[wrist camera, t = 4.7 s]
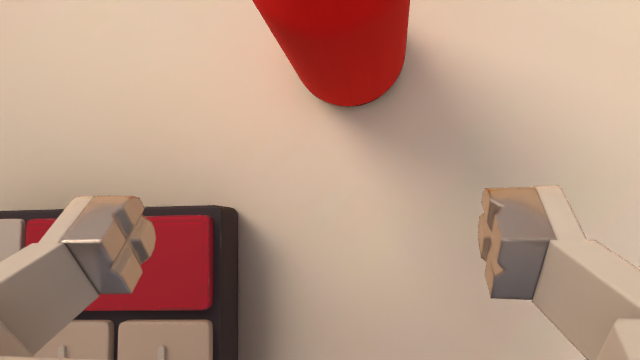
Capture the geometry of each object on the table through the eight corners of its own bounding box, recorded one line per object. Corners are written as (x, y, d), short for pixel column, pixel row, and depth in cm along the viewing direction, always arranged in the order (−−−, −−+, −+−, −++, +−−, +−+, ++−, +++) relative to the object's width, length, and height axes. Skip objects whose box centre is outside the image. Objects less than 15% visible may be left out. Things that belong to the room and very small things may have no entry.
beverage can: (334, 132, 26) (288, 54, 14) (278, 46, 27) (192, -93, 15) (426, 72, 26) (457, -61, 14) (366, -13, 27) (347, -204, 15)
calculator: (217, 435, 22) (-72, 429, 23) (242, 401, 26) (-4, 397, 27) (218, 204, 23) (-58, 211, 24) (241, 207, 27) (5, 213, 28)
